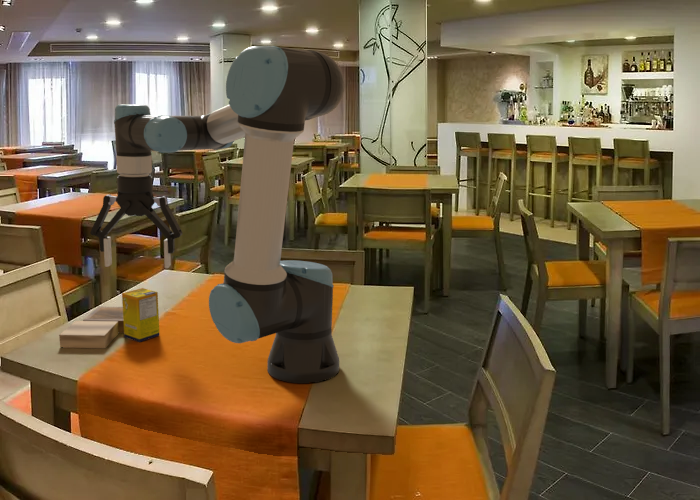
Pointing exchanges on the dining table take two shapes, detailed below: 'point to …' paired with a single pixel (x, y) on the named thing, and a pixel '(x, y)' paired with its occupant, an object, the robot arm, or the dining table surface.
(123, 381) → the dining table surface
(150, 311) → the supplement box
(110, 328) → the oak stand
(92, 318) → the walnut stand
